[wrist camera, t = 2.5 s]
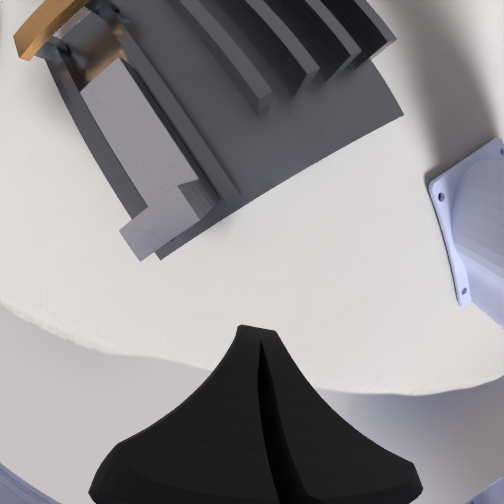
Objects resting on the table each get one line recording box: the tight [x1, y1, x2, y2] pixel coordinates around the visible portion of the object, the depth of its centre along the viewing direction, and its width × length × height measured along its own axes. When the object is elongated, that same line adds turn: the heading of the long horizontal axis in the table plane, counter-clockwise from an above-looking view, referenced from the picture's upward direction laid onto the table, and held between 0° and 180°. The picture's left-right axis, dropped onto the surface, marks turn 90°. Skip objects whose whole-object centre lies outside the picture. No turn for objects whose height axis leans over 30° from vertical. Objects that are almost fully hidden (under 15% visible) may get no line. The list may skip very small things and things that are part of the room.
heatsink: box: [13, 0, 404, 260], centre depth 9 cm, size 15×14×5 cm
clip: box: [80, 57, 220, 262], centre depth 9 cm, size 8×2×4 cm, turn 32°
